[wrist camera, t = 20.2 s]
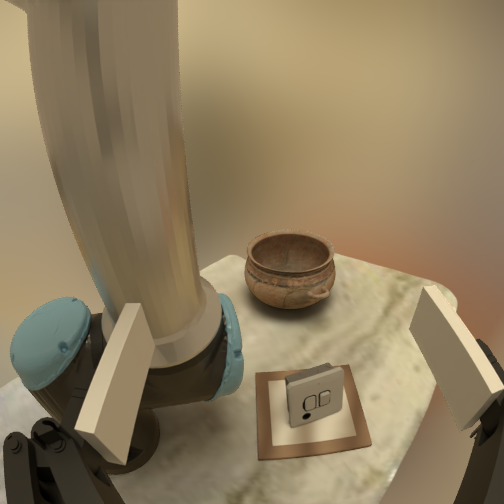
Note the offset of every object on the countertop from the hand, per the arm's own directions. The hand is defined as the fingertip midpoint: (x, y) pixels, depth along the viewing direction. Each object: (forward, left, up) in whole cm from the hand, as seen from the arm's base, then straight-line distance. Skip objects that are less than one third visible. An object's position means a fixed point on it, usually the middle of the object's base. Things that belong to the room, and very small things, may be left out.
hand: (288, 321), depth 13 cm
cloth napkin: (+6, +14, -32) cm, 35 cm away
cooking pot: (+6, +43, -32) cm, 54 cm away
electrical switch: (+6, +14, -32) cm, 35 cm away
